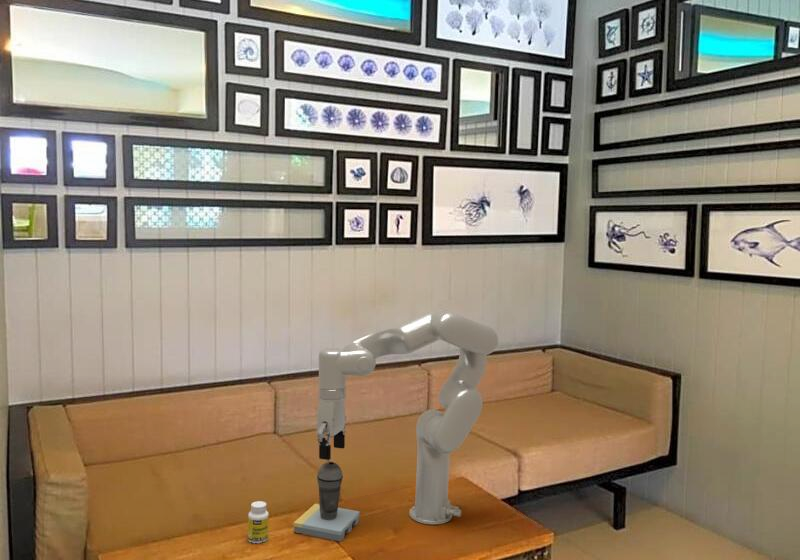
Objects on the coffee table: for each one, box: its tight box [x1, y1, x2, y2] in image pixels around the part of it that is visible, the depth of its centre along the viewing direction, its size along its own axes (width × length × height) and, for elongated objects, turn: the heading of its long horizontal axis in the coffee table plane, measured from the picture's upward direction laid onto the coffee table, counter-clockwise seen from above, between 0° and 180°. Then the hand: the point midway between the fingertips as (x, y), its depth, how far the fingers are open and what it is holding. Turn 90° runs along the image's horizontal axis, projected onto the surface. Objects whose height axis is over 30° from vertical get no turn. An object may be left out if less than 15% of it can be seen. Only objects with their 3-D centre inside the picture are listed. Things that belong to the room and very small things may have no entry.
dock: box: [293, 503, 361, 543], centre depth 188 cm, size 14×14×3 cm
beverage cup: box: [316, 460, 344, 520], centre depth 187 cm, size 7×7×20 cm
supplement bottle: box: [246, 500, 270, 544], centre depth 179 cm, size 5×5×10 cm
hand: (332, 453), depth 187 cm, fingers open, 9 cm apart
